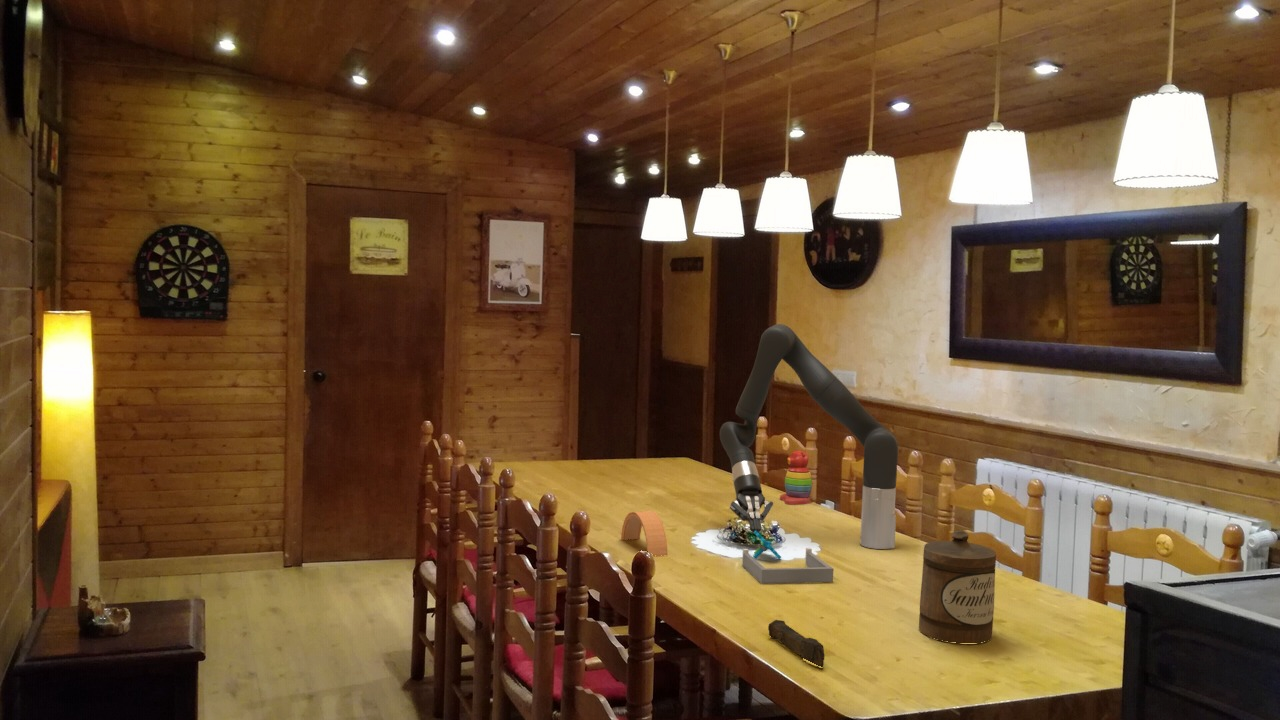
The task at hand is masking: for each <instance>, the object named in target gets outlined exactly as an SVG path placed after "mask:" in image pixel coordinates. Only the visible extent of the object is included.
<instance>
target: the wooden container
mask: <svg viewBox="0 0 1280 720" xmlns="http://www.w3.org/2000/svg"><path fill="white" fill-rule="evenodd" d="M951 538H952V540H935V541H929V542H927V543H925V544H924V545H923V554H922V555H923V557H922V559H923V561H922V575H921V586H920V587H921V589H920V595H919V596H920V597H919V615H918V616H919V617H918V619H919V620H918V630H919V631H920V633H922V634H923V635H925V636H926V635H927V636H926V637H928V636H929V638H930V637H932V638H931V639H933V638H935V639H934V640H936V639H938V640H937V641H939V640H943V641H948V642H956V643H981V642H984V641H988V640H989V641H991V640H992V638H993V629H994V628H993V627H994V625H993V624H994V614H995V611H994V610H995V589H996V588H995V587H996V585H995V584H996V563H997V562H996V561H997V553H996V552H997V551H995V550H994V549H992V548H990V547H988V546H985V545H981V544H977V543H973V542H969V541H968V540H969V534H968V533H967V532H966V531H965V530H959V529H957V530H955V531H953V532H952V533H951ZM990 639H991V640H990ZM943 641H942V642H943ZM989 641H988V642H989ZM948 642H947V643H948Z"/></svg>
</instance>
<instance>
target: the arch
mask: <svg viewBox="0 0 1280 720" xmlns="http://www.w3.org/2000/svg"><path fill="white" fill-rule="evenodd" d="M642 529H643V531H644V536H645V542H646V552H647V551H648V552H650V553H652V554H653V556H654V558H655V555H656V557H665V556H664V555H667V556H668V544H667V543H668V542H667V536H666V531H665V527H664V524H663V522H662V520H661V517H660V516H659V515H658V514H657V512H655V511H654V510H646V511H645V510H644V511H630V512H629V513H628V514H627V515H626V516H625V518H624V520H623V523H622V528H621V534H620V535H621V536H620V540H621V539H622V540H621V541H631V540H630V539H638V540H641V533H642ZM628 539H629V540H628ZM661 555H662V556H661Z"/></svg>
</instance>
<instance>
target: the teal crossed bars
mask: <svg viewBox="0 0 1280 720" xmlns="http://www.w3.org/2000/svg"><path fill="white" fill-rule="evenodd" d="M754 533H755V534H754V535H755V536H756V537H757V538H758V539H759V540H760V544H759V545H758V548H757V549H756V550H755V551H754V552H753V554H754V555H753V556H752V557H753V558H754V559H755V560H757V559H758V557H759V556H760V555H762V554H763V552H766V551H767V550H769V551H770V552H771V553H772V554H773V555H774V556H775V557H776V558H777V559H778V560H780V559H781V558H782V556H781V555H780V554H779V552H777V551H776V550H775V549H774V548H773V546H772V542H771V541H770V540H768V541H767V540H766V539H765V538H764V537H763V536H762V535H761V533H760V532H759V533H758V532H757V531H755V532H754Z"/></svg>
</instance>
